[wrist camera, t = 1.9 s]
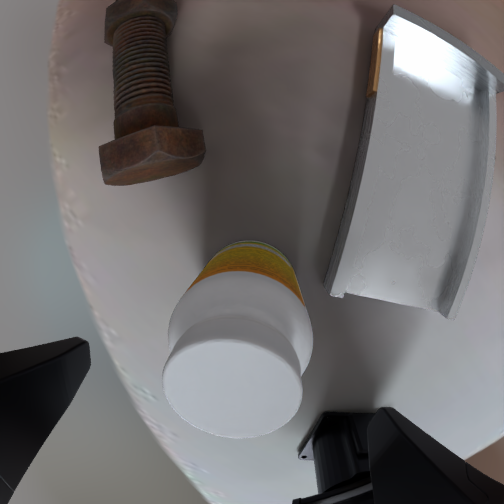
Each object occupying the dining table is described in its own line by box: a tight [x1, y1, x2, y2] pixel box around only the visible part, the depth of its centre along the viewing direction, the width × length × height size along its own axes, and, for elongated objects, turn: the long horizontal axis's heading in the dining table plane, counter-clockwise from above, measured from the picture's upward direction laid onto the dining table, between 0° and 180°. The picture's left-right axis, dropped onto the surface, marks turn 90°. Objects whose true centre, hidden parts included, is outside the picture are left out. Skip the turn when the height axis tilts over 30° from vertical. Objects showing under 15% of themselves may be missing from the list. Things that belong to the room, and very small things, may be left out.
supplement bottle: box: [162, 241, 313, 438], centre depth 12 cm, size 5×5×10 cm
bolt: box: [99, 0, 206, 186], centre depth 12 cm, size 6×5×15 cm
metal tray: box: [323, 4, 504, 320], centre depth 12 cm, size 18×10×4 cm, turn 167°
